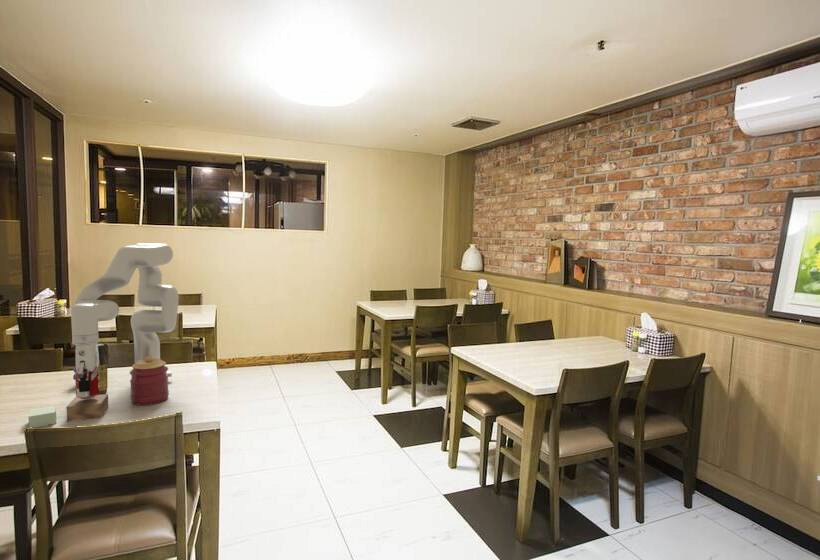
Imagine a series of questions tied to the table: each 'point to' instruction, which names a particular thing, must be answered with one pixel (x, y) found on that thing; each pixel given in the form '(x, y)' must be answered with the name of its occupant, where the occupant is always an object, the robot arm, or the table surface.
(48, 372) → the table surface
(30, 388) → the table surface
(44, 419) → the green block
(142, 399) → the canister
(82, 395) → the soda can
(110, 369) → the table surface
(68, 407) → the walnut block
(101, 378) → the sauce bottle
